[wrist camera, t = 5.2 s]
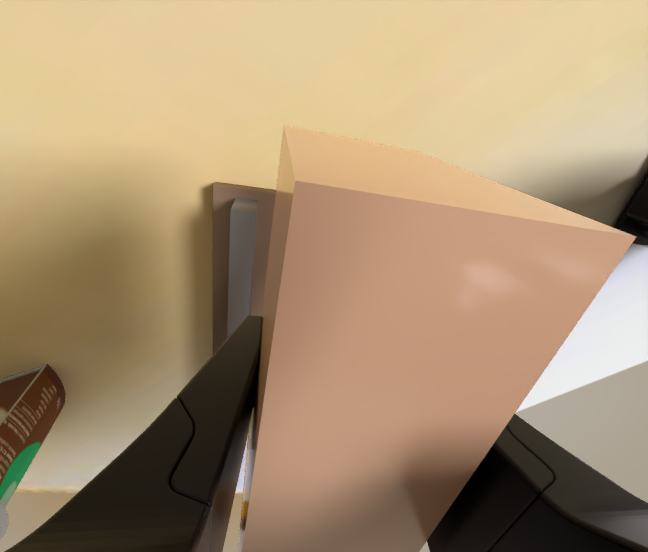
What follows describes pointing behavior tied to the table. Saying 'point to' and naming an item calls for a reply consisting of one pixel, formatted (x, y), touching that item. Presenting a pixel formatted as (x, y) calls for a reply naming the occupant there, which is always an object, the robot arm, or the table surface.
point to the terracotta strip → (398, 338)
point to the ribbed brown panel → (239, 254)
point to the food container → (25, 425)
